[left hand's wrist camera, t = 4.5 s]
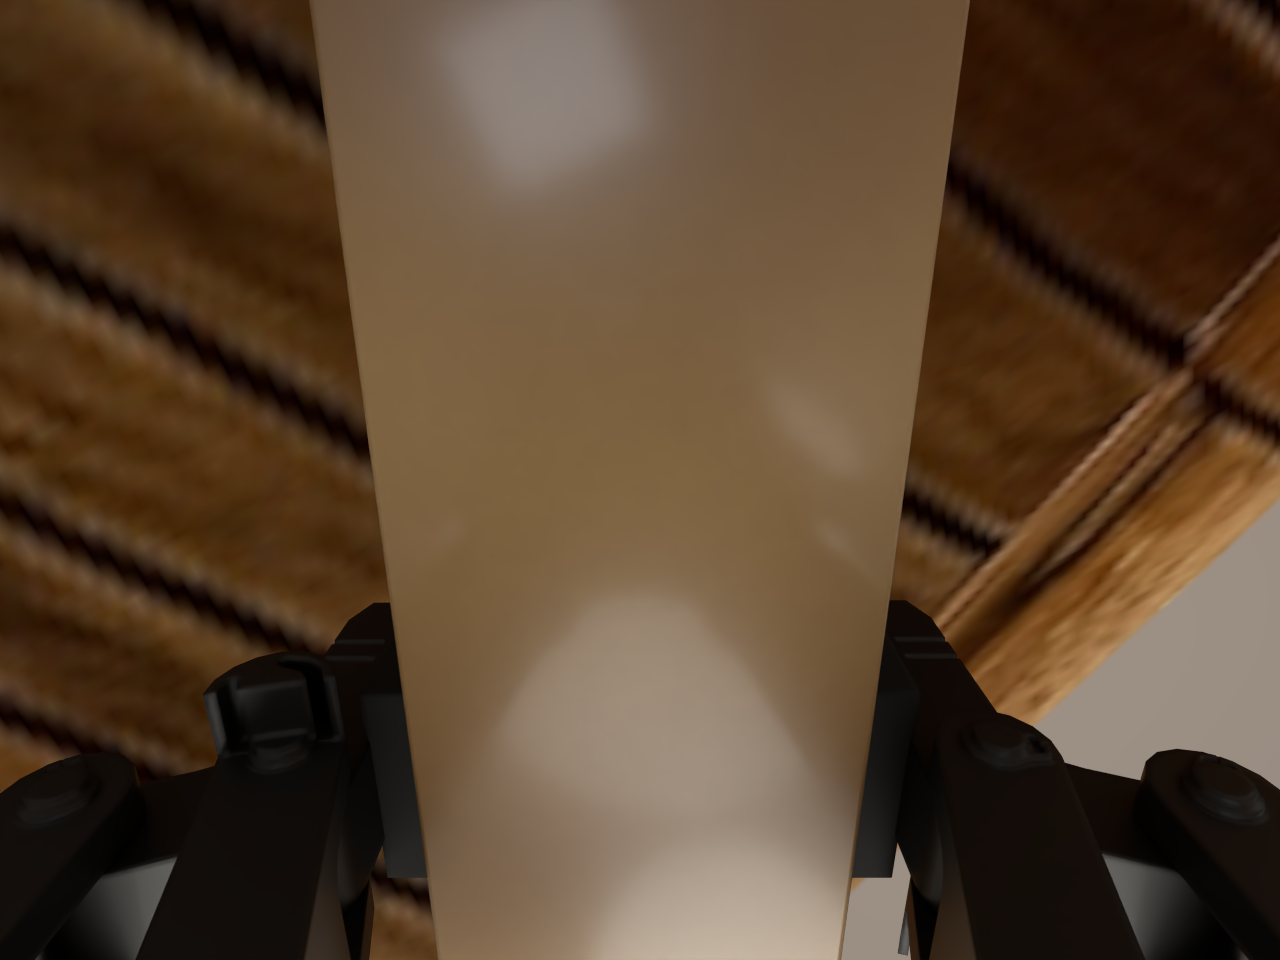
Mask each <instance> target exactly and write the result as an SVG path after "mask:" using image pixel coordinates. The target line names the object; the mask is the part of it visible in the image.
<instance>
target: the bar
mask: <svg viewBox="0 0 1280 960" xmlns="http://www.w3.org/2000/svg"><path fill="white" fill-rule="evenodd" d="M309 4H310V11H311V18H312V26H313V33H314V41H315V48H316V56H317V63H318V70H319V78H320V85H321V93H322V100H323V108H324V115H325V122H326V130H327V137H328V145H329V152H330V160H331V167H332V174H333V182H334V189H335V197H336V204H337V211H338V219H339V226H340V234H341V241H342V249H343V256H344V263H345V271H346V278H347V286H348V293H349V301H350V308H351V315H352V323H353V330H354V338H355V345H356V352H357V360H358V367H359V375H360V382H361V390H362V397H363V404H364V412H365V419H366V427H367V434H368V442H369V449H370V456H371V464H372V471H373V479H374V486H375V493H376V501H377V508H378V516H379V523H380V531H381V538H382V545H383V553H384V560H385V568H386V575H387V583H388V590H389V597H390V605H391V612H392V620H393V627H394V634H395V642H396V649H397V657H398V664H399V672H400V679H401V686H402V694H403V701H404V709H405V716H406V724H407V731H408V738H409V746H410V753H411V761H412V768H413V775H414V783H415V790H416V798H417V805H418V813H419V820H420V827H421V835H422V842H423V850H424V857H425V865H426V872H427V879H428V887H429V894H430V902H431V909H432V916H433V924H434V931H435V939H436V946H437V954H438V960H841V955H842V948H843V941H844V933H845V926H846V918H847V911H848V903H849V896H850V889H851V881H852V874H853V866H854V859H855V851H856V844H857V837H858V829H859V822H860V814H861V807H862V799H863V792H864V785H865V777H866V770H867V762H868V755H869V747H870V740H871V732H872V725H873V718H874V710H875V703H876V695H877V688H878V680H879V673H880V666H881V658H882V651H883V643H884V636H885V628H886V621H887V613H888V606H889V599H890V591H891V584H892V576H893V569H894V561H895V554H896V547H897V539H898V532H899V524H900V517H901V509H902V502H903V494H904V487H905V480H906V472H907V465H908V457H909V450H910V442H911V435H912V428H913V420H914V413H915V405H916V398H917V390H918V383H919V375H920V368H921V361H922V353H923V346H924V338H925V331H926V323H927V316H928V309H929V301H930V294H931V286H932V279H933V271H934V264H935V256H936V249H937V242H938V234H939V227H940V219H941V212H942V204H943V197H944V190H945V182H946V175H947V167H948V160H949V152H950V145H951V137H952V130H953V123H954V115H955V108H956V100H957V93H958V85H959V78H960V71H961V63H962V56H963V48H964V41H965V33H966V26H967V18H968V11H969V4H970V0H309Z"/></svg>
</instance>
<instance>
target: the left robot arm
mask: <svg viewBox="0 0 1280 960" xmlns="http://www.w3.org/2000/svg"><path fill="white" fill-rule="evenodd" d="M203 698H204V702H205V706H206V710H207V714H208V718H209V722H210V726H211V730H212V734H213V738H214V742H215V746H216V750H217V754H218V759H217V761H216V764H215V766H213V767H209V768H206V769H202V770H199V771H195V772H191V773H186V774H182V775H177V776H172V777H168V778H163V779H159V780H154V781H149V782H145V783H140V782H139V778H138V775H137V772H136V768H135V765H134V764H133V763H132V762H131V761H130V760H128V759H127V758H126V757H125V756H123V755H118V754H112V753H106V752H100V753H92V754H84V755H77V756H74V757H70V758H66V759H64V760H59V761H57V762H54V763H51V764H48V765H46V766H44V767H43V768H41V769H39V770H37V771H35V772H33V773H31V774H29V775H27V776H25V777H23V778H21V779H19V780H18V781H17V782H15V783H14V784H13V785H11V786H10V787H8V788H7V789H6V790H4V791H3V792H2V793H0V960H369V955H370V946H371V936H372V926H373V916H374V902H373V895H372V889H371V883H370V875H371V872H372V870H373V867H374V865H375V862H376V860H377V857H378V855H379V852H380V850H381V847H382V845H383V851H384V857H385V863H386V870H387V876H388V878H427V872H426V865H425V857H424V850H423V842H422V835H421V827H420V820H419V813H418V805H417V798H416V790H415V783H414V775H413V768H412V761H411V753H410V746H409V738H408V731H407V724H406V716H405V709H404V701H403V694H402V686H401V679H400V672H399V664H398V657H397V649H396V642H395V634H394V627H393V620H392V612H391V605H390V603H373V604H371V605H370V606H369V607H367V608H366V609H364V610H363V611H361V612H360V613H358V614H357V615H356V616H354V617H353V618H351V619H350V620H349V621H348V622H347V624H346V625H345V626H344V628H343V629H342V631H341V632H340V634H339V635H338V637H337V638H336V639H335V644H332V645H331V647H330V648H329V650H328V651H327V652H326V654H325V655H324V657H323V656H322V655H318V654H313V653H309V652H305V651H299V652H279V653H275V654H270V655H266V656H261V657H257V658H255V659H252V660H250V661H247V662H245V663H242V664H240V665H238V666H235V667H233V668H232V669H230V670H229V671H227V672H226V673H224V674H223V675H221V676H220V677H218V678H217V679H215V680H214V681H213V683H212V684H211V685H210V686H209V687H208V689H207V690H206V691H205V692H204V694H203ZM897 842H898V845H899V847H900V850H901V852H902V855H903V857H904V860H905V862H906V865H907V867H908V870H909V872H910V875H911V877H910V883H909V889H908V895H907V900H906V906H905V912H904V918H903V924H902V930H901V935H900V942H899V949H898V954H903V955H908V950H909V945H910V954H911V960H1280V790H1279V789H1278V788H1277V787H1275V786H1274V785H1273V784H1271V783H1270V782H1269V781H1267V780H1266V779H1265V778H1263V777H1262V776H1260V775H1259V774H1257V773H1255V772H1253V771H1251V770H1249V769H1247V768H1245V767H1243V766H1241V765H1239V764H1237V763H1235V762H1233V761H1230V760H1228V759H1225V758H1222V757H1217V756H1216V755H1212V754H1208V753H1204V752H1198V751H1191V750H1182V749H1173V750H1167V751H1160V752H1157V753H1155V754H1154V755H1153V756H1152V757H1150V758H1149V759H1148V760H1147V761H1146V763H1145V766H1144V770H1143V773H1142V776H1141V780H1136V779H1131V778H1126V777H1122V776H1117V775H1113V774H1108V773H1103V772H1099V771H1094V770H1090V769H1085V768H1081V767H1078V766H1075V765H1071V764H1068V763H1065V762H1064V760H1063V758H1062V756H1061V754H1060V753H1059V751H1058V750H1057V748H1056V747H1055V746H1054V744H1053V743H1052V741H1051V740H1050V739H1048V738H1047V737H1046V736H1044V735H1043V734H1042V733H1041V732H1039V731H1038V730H1037V729H1035V728H1034V727H1033V726H1031V725H1029V724H1027V723H1024V722H1022V721H1020V720H1018V719H1016V718H1014V717H1012V716H1009V715H1005V714H1001V713H997V712H996V710H995V709H994V707H993V706H992V704H991V703H990V702H989V700H988V699H987V697H986V696H985V694H984V693H983V692H982V690H981V689H980V687H979V686H978V684H977V683H976V682H975V680H974V679H973V677H972V676H971V674H970V673H969V671H968V670H967V669H966V667H965V666H964V664H963V663H962V661H961V660H960V659H957V654H956V653H955V651H954V650H953V649H952V647H951V646H950V644H949V643H948V642H945V637H944V636H943V634H942V633H941V631H940V630H939V628H938V627H937V626H936V624H935V623H934V621H933V620H932V618H931V617H929V616H928V615H926V614H925V613H923V612H922V611H921V610H919V609H918V608H916V607H915V606H913V605H912V604H910V603H909V602H907V601H906V600H889V606H888V613H887V621H886V628H885V636H884V643H883V651H882V658H881V666H880V673H879V680H878V688H877V695H876V703H875V710H874V718H873V725H872V732H871V740H870V747H869V755H868V762H867V770H866V777H865V785H864V792H863V799H862V807H861V814H860V822H859V829H858V837H857V844H856V851H855V859H854V866H853V874H852V878H891V877H892V873H893V867H894V860H895V854H896V848H897Z"/></svg>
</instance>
